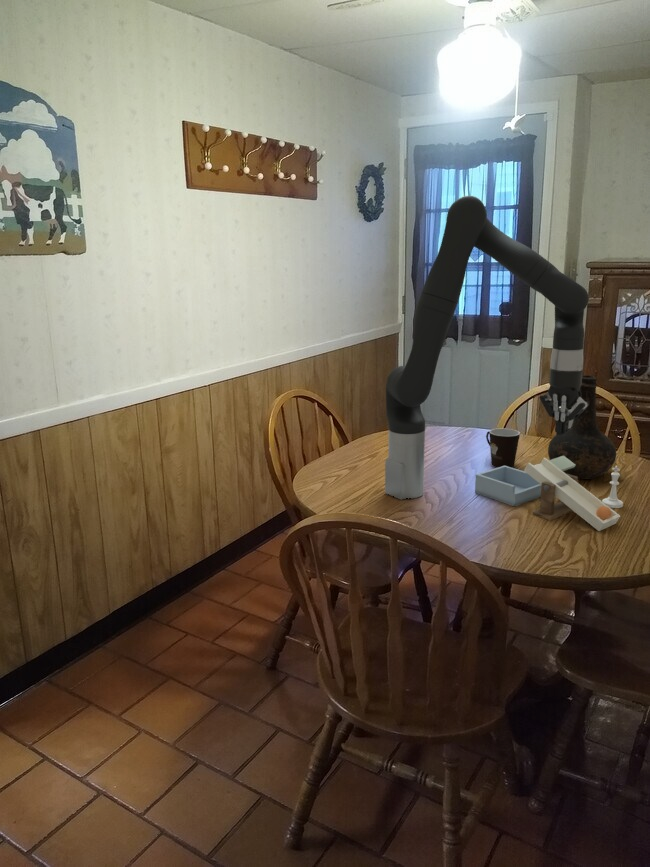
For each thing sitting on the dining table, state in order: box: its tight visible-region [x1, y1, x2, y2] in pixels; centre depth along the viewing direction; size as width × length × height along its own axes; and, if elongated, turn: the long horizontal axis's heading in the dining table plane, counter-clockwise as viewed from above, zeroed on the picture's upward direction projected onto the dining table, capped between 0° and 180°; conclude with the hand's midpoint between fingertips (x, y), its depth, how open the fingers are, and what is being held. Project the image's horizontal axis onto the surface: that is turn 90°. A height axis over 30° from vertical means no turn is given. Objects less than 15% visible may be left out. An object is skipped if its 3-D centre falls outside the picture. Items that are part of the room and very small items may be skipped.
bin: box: [474, 466, 542, 507], centre depth 171 cm, size 12×13×5 cm
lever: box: [523, 456, 621, 532], centre depth 160 cm, size 23×16×2 cm
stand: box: [532, 474, 579, 521], centre depth 160 cm, size 5×13×8 cm, turn 127°
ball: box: [596, 506, 612, 520], centre depth 151 cm, size 3×3×3 cm
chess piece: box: [601, 465, 624, 509], centre depth 163 cm, size 5×5×10 cm
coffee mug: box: [485, 427, 521, 468], centre depth 195 cm, size 12×9×10 cm
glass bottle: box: [547, 374, 617, 480], centre depth 183 cm, size 18×18×28 cm
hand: (561, 434), depth 167 cm, fingers closed
